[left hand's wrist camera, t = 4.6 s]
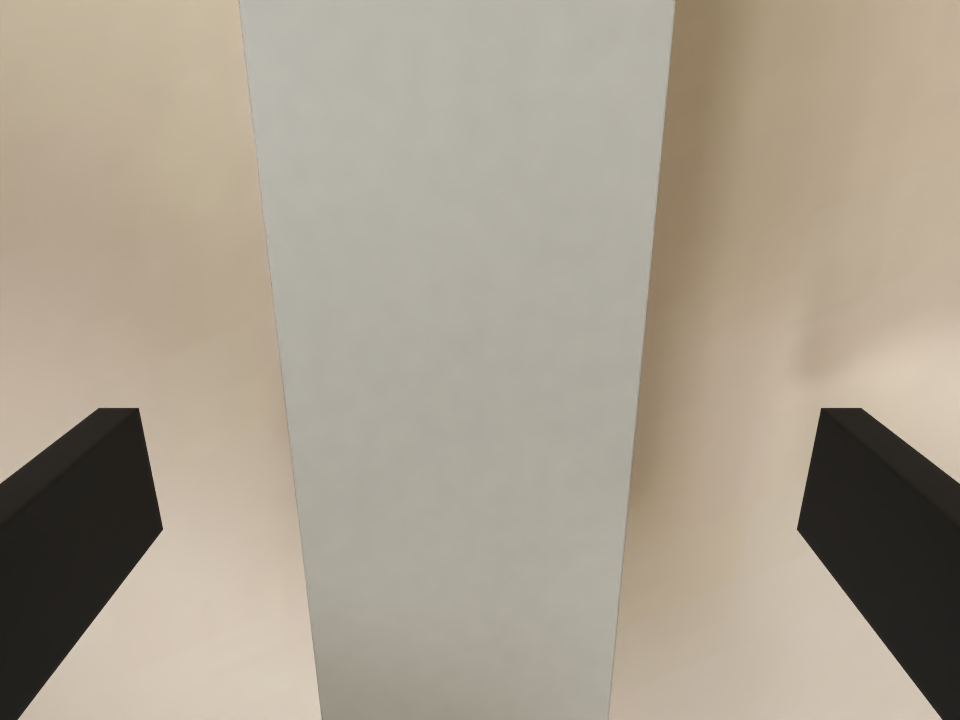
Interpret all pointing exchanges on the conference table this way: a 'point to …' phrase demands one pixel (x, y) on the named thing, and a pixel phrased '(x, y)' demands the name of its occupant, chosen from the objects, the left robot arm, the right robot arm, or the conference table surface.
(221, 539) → the conference table surface
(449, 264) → the bar
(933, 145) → the conference table surface
